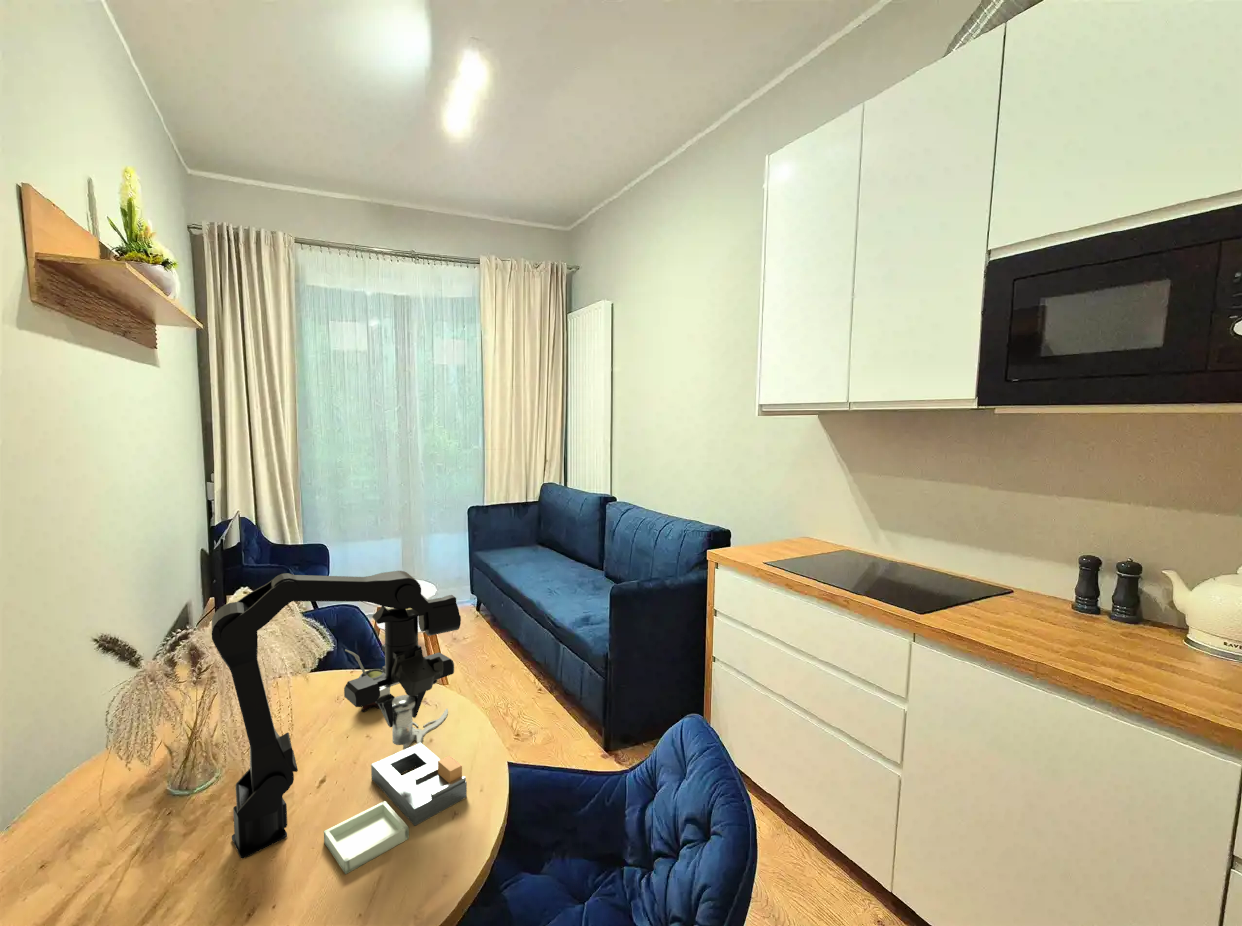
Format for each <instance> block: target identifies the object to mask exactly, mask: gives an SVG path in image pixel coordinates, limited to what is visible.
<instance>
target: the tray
mask: <svg viewBox="0 0 1242 926" xmlns="http://www.w3.org/2000/svg"><path fill="white" fill-rule="evenodd" d="M409 830H410V827H409V826H408V825H407V823H406V822H405V821H404V820H403V819H402V818H401V817H400V815H398V814H397V812H395V810H394V809H393V808H392V807H391V806H390V805H389V804H388V802H387V801H386V800H384V801H381V802H379V803H378V804H376V805H374V806H372V807H369V808H368V809H366V810H363V811H361V812H359V813H357V814H355V815H353V816H351V817H350V818H348V819H345V820H344V821H341V822H339V823H338V824H336V825H334V826H332V827H330V828H327V829H326V830H323V842H324V845H325V846H326V848H327V849H328V851H329V852H330V853H331V855H332V857H333V858H334V859H335V861H336V862H337V864H338V865H339V867H340V868H341V870H342V871H343V873H344V875H348V874H349V873H350V872H352V871H354V870H357V869H358V868H360V867H361V866H363V865H365V864H366V863H368V862H370V861H371V860H373V859H375V858H376V857H378V856H380V855H382V854H385V852H388V851H389V850H391V849H394V848H395V847H397V846H398V845H400V844H402V843H403V842H405V841H407V840H408V839H410V833H409V832H410V831H409Z"/></svg>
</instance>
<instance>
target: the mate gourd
mask: <svg viewBox="0 0 1242 926" xmlns="http://www.w3.org/2000/svg"><path fill="white" fill-rule="evenodd" d="M344 651H345V652H346V653H349V654H350V655H352V656H353V657H354V658H355V660H356V662H357V663H358V665H359V667H360V669H361V672H362V673H361V674H360V675H359V677H358V678H360V677H363V676H366V675H368V676H369V677H370V678H371V679H373V680H377V679H380V678H383V677H385V673H383V672H382V669H380V668H373V669H368V670H365V667H364V666H363V664H362V662H361V660H360V659H361V658H360V656H359V655H358V654H356V653H355V652H353V651H351V650H348V649H344ZM361 708H362V709H361V710H360V711H361V712H362V713H365V712H367V711H368V710H370V709H372V708H374V709H375V708H376V709H379V710H381V709H380V707H379V705H378V704H377V703H375V702H374V703H371V704H368V705H365V706H362V707H361Z"/></svg>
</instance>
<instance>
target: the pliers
mask: <svg viewBox="0 0 1242 926" xmlns="http://www.w3.org/2000/svg"><path fill="white" fill-rule="evenodd" d="M448 713H449V708H445V710H444V711H443V713H442V714H441V716H440V717H439V718H437V719H433V720H431V721H428V722H426V723H425V724H423V725H422V726H423V729H421V728H419V725H418V723H416V722H415V721H412V730H413V738H412V740H411V741H410V742H409V743H407V744H404V745H402V747H403V748H402V750H405V749H407V748H409V747H410V745H411V744H412V743H413V742H414V741H416V744H418V743H420V742H421V743H422V742H423V741H424V740H423V739H424V737H425V735H427V733H429V732H431V731H432V730H434V729H436V728H438V727H439V726H440V725H441V724H443V723H444V721H445V720H446V718H447V716H448ZM415 727H416V728H415ZM422 744H423V743H422Z"/></svg>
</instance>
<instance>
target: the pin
mask: <svg viewBox="0 0 1242 926" xmlns="http://www.w3.org/2000/svg"><path fill="white" fill-rule="evenodd" d="M394 697H395V698H394V699H393V701H392V709H393V727H391V728H392V729H391V730H392V744H393V745H396V746H403V745H404V744H407V743H409V742H410V741H411V740H412V738H413V730H412V727H413V724H412V722H413V717H412V709H413V708H414V707H415V697H414V696H409V695H407V694H402V695H398V696H394Z"/></svg>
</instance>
